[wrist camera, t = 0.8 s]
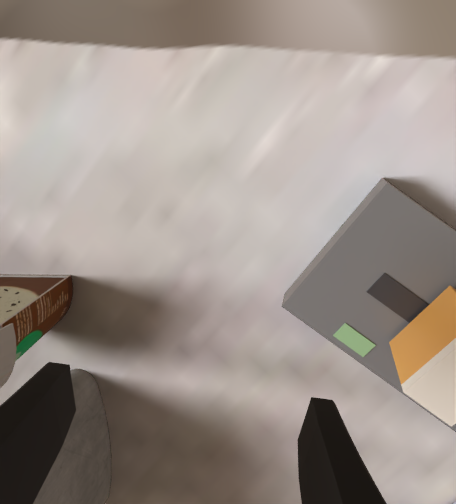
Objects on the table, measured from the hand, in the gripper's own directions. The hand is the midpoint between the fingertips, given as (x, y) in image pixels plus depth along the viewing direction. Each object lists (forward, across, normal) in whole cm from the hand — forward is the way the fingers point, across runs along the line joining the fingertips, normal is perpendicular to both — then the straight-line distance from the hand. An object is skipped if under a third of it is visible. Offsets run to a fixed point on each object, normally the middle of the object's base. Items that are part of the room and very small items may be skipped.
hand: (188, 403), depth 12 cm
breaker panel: (+13, -14, +5) cm, 20 cm away
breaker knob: (+11, -14, +5) cm, 18 cm away
